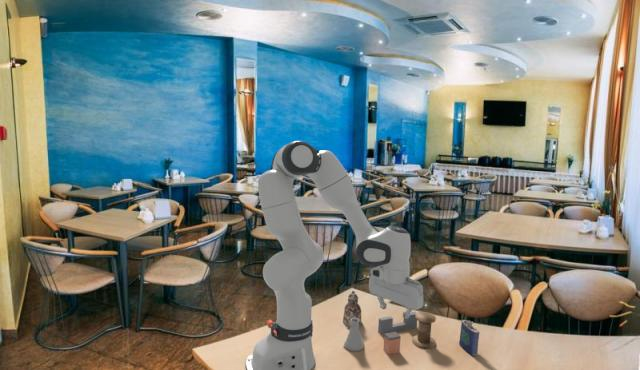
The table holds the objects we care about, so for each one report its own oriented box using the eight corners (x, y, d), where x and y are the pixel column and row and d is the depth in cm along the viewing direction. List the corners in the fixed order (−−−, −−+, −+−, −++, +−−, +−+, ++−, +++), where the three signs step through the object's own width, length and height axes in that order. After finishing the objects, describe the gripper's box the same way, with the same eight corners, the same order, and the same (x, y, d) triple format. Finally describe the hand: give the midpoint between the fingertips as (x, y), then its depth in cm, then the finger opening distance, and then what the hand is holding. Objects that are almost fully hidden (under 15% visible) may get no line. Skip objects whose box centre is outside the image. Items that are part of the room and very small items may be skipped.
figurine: (341, 325, 161) (342, 295, 159) (344, 316, 167) (345, 288, 165) (359, 327, 159) (361, 298, 157) (362, 319, 166) (363, 290, 164)
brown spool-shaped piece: (420, 350, 144) (422, 323, 143) (408, 338, 152) (409, 313, 150) (439, 346, 147) (441, 319, 146) (426, 335, 155) (428, 309, 153)
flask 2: (478, 356, 142) (481, 327, 140) (471, 357, 141) (473, 327, 139) (463, 342, 150) (466, 314, 149) (456, 343, 150) (458, 315, 148)
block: (388, 354, 141) (389, 338, 140) (383, 349, 144) (384, 333, 143) (399, 352, 143) (400, 336, 142) (394, 347, 146) (395, 331, 145)
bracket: (380, 334, 154) (381, 320, 154) (378, 331, 156) (378, 318, 155) (416, 327, 160) (417, 313, 159) (414, 325, 162) (415, 311, 161)
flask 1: (340, 348, 144) (341, 321, 143) (348, 338, 151) (349, 313, 149) (359, 354, 141) (360, 327, 139) (367, 344, 147) (368, 318, 146)
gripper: (428, 280, 134) (426, 320, 136) (377, 264, 148) (376, 300, 151) (417, 285, 130) (415, 327, 132) (366, 268, 144) (365, 306, 146)
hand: (394, 312), depth 141 cm, fingers open, 8 cm apart
